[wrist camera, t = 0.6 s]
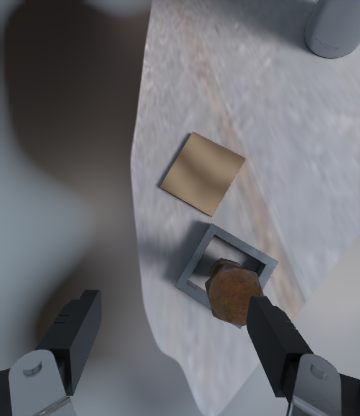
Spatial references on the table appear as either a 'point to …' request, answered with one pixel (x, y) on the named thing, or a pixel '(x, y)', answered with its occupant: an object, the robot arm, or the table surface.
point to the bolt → (231, 291)
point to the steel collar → (266, 261)
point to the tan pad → (202, 173)
